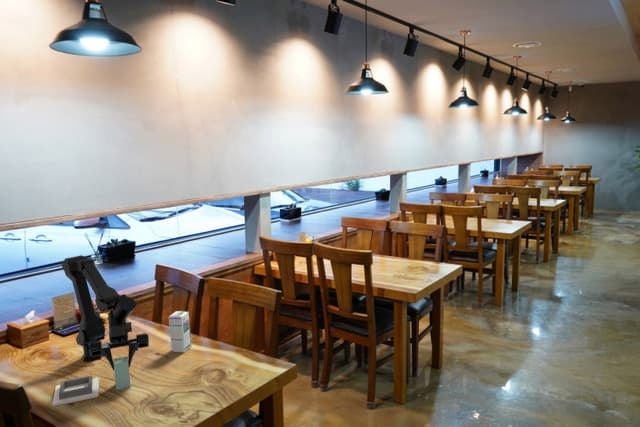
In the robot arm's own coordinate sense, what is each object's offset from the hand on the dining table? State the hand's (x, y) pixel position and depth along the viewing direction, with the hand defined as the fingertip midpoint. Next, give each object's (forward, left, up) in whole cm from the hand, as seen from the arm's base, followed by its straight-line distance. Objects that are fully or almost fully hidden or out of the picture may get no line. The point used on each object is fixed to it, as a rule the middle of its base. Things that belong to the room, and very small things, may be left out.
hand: (121, 368), depth 163 cm
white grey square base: (-3, -14, -7) cm, 16 cm away
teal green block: (-1, 0, -7) cm, 7 cm away
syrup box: (-23, +22, -7) cm, 33 cm away
